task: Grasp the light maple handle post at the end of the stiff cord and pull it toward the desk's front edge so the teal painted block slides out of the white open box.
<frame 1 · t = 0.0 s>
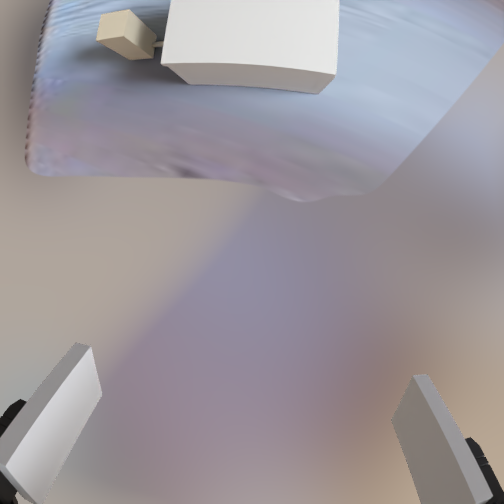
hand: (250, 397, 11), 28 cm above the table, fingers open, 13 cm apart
tethered block: (202, 32, 26), point 5 cm above the table, slide at 0.0 cm
white open box: (253, 47, 31), on the table
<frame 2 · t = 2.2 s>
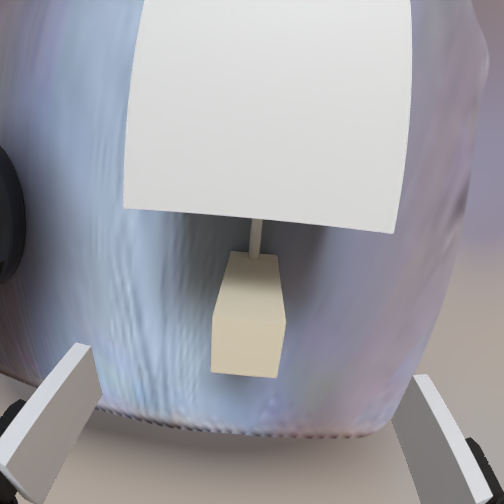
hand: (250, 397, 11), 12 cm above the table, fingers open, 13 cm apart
tethered block: (264, 153, 16), point 5 cm above the table, slide at 0.0 cm
white open box: (270, 80, 18), on the table
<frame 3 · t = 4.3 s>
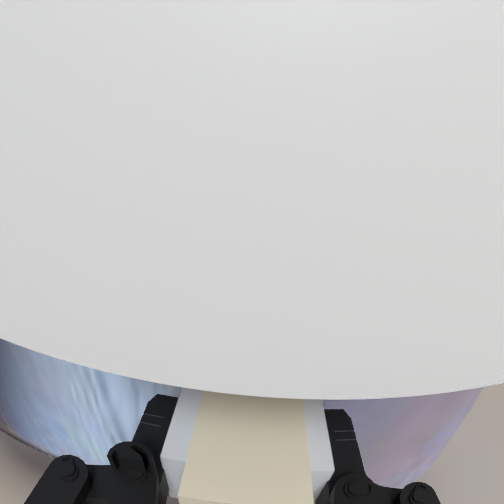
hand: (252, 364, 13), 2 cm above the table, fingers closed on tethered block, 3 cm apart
tethered block: (278, 168, 8), point 5 cm above the table, slide at 0.0 cm, touching gripper
white open box: (284, 44, 11), on the table
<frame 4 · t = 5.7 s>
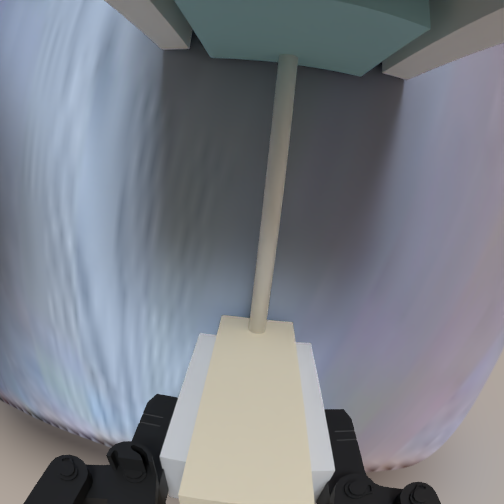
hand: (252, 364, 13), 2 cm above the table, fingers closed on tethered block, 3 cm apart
tethered block: (283, 167, 8), point 5 cm above the table, slide at 6.5 cm, touching gripper
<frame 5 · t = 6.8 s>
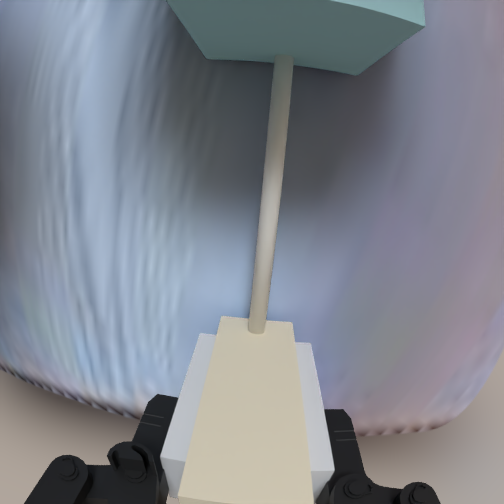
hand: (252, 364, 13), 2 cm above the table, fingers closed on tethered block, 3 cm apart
tethered block: (278, 167, 8), point 5 cm above the table, slide at 11.5 cm, touching gripper
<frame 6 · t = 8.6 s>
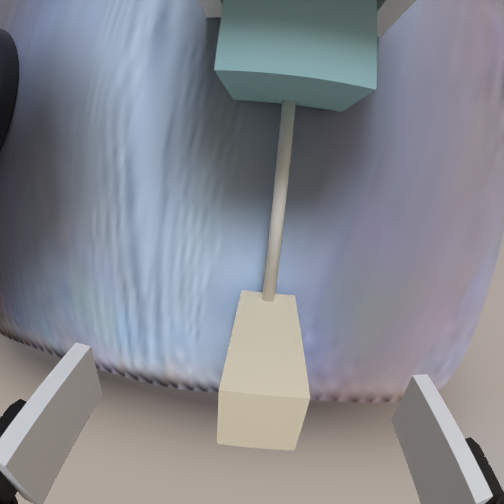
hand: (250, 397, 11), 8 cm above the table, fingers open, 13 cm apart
tethered block: (284, 181, 13), point 5 cm above the table, slide at 11.5 cm
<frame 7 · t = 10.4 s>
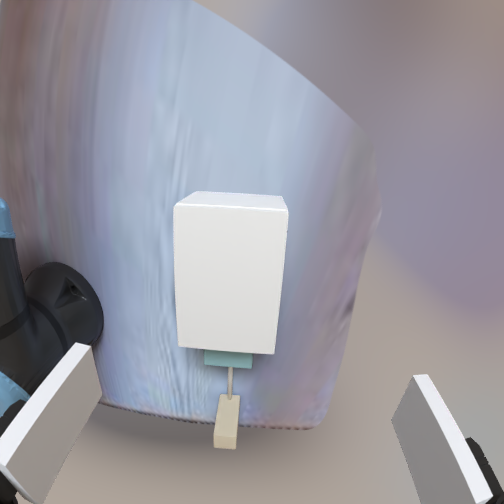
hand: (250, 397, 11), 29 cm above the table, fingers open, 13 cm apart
tethered block: (228, 382, 41), point 5 cm above the table, slide at 11.5 cm
white open box: (235, 256, 40), on the table
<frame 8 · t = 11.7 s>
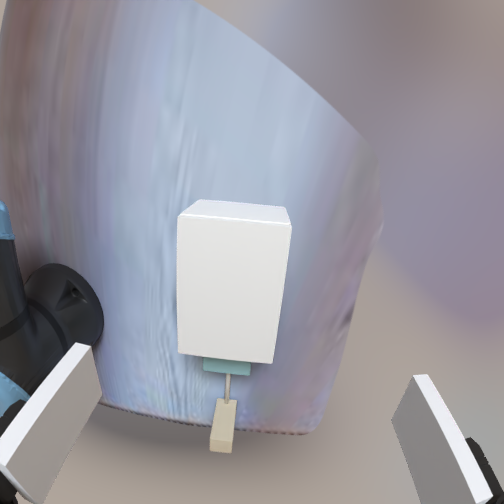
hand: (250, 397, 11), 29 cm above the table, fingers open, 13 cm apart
tethered block: (226, 387, 41), point 5 cm above the table, slide at 11.5 cm
white open box: (236, 265, 40), on the table
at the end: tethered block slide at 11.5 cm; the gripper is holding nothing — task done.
